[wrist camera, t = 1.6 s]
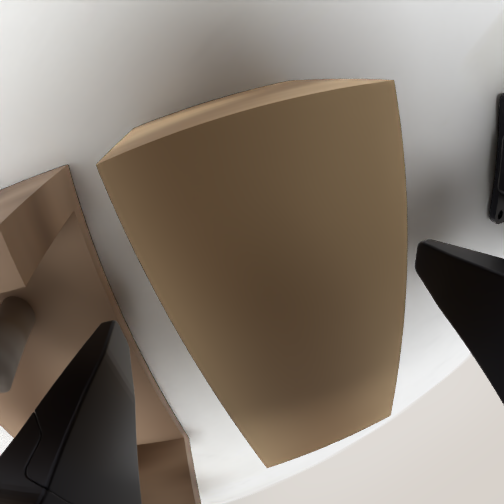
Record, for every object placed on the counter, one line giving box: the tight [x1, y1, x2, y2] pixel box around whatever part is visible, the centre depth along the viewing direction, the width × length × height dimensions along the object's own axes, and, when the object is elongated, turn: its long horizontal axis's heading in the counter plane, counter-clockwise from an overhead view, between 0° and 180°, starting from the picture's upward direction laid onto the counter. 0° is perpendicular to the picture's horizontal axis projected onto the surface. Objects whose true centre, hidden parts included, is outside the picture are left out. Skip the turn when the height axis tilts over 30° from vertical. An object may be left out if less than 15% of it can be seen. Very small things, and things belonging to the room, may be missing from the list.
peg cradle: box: [0, 165, 201, 504], centre depth 9 cm, size 10×14×4 cm
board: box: [96, 79, 407, 468], centre depth 9 cm, size 4×10×5 cm, turn 15°
